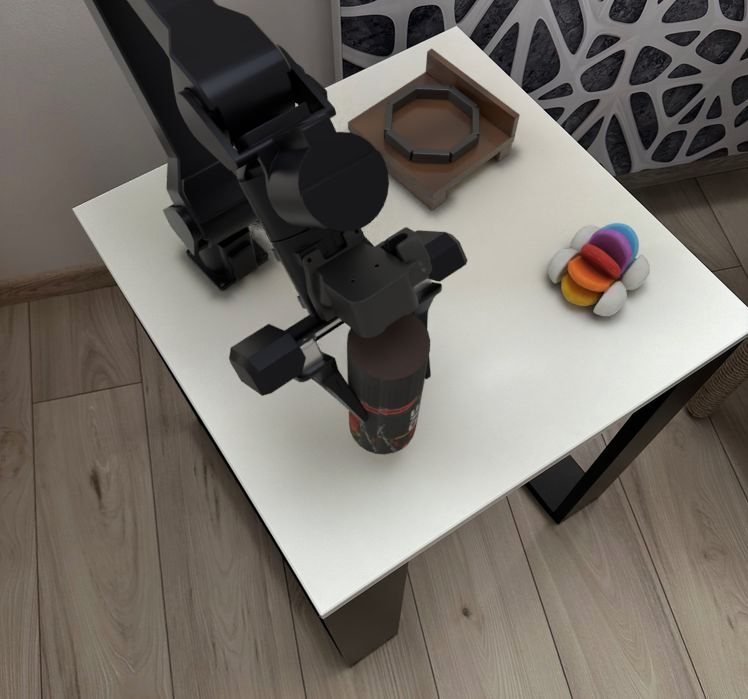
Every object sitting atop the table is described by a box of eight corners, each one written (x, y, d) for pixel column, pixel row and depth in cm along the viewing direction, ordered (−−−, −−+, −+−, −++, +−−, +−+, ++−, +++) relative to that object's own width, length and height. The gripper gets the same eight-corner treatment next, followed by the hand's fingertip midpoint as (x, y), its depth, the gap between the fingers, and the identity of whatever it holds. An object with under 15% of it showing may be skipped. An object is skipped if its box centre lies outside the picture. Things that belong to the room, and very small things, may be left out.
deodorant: (409, 460, 66) (422, 387, 53) (342, 447, 67) (338, 370, 53) (421, 399, 69) (436, 314, 56) (356, 386, 69) (356, 299, 56)
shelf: (348, 140, 90) (347, 101, 85) (428, 88, 94) (431, 48, 89) (430, 211, 85) (434, 175, 80) (511, 152, 90) (520, 114, 84)
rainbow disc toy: (533, 285, 81) (547, 244, 74) (587, 231, 84) (605, 187, 78) (599, 333, 78) (620, 295, 72) (652, 275, 81) (676, 233, 75)
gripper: (224, 302, 45) (341, 504, 51) (466, 156, 50) (547, 353, 56) (182, 285, 55) (284, 455, 60) (388, 163, 60) (464, 330, 66)
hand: (395, 398), depth 60 cm, fingers closed on deodorant, 6 cm apart
